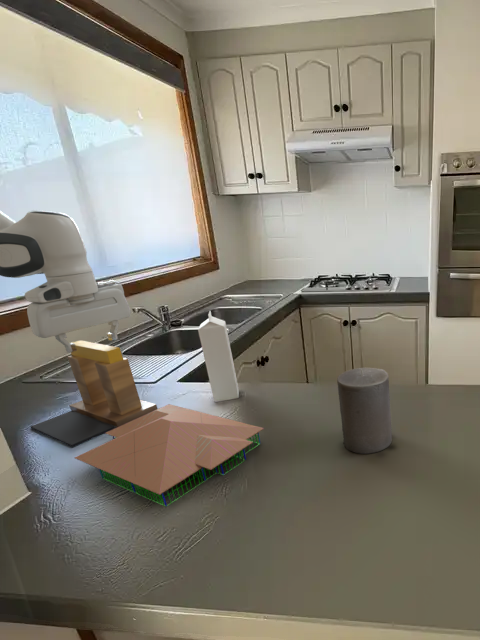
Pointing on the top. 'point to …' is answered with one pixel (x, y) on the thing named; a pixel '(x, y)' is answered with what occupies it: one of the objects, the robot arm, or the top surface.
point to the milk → (218, 359)
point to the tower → (107, 391)
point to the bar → (97, 352)
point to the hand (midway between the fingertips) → (93, 345)
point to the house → (169, 449)
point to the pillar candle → (365, 409)
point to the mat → (72, 428)
